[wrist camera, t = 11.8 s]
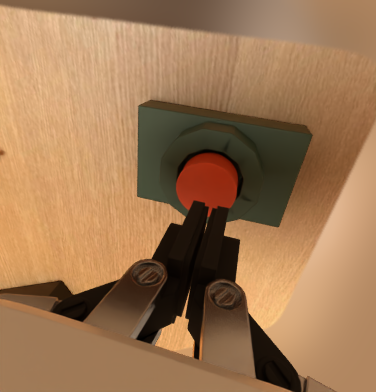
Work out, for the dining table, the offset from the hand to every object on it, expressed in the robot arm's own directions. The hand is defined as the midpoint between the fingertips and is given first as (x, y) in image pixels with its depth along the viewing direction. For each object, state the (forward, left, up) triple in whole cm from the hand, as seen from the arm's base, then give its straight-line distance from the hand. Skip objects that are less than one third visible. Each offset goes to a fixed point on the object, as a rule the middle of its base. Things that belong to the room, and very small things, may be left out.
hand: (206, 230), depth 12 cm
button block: (0, 0, -9) cm, 9 cm away
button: (0, 0, -5) cm, 5 cm away
